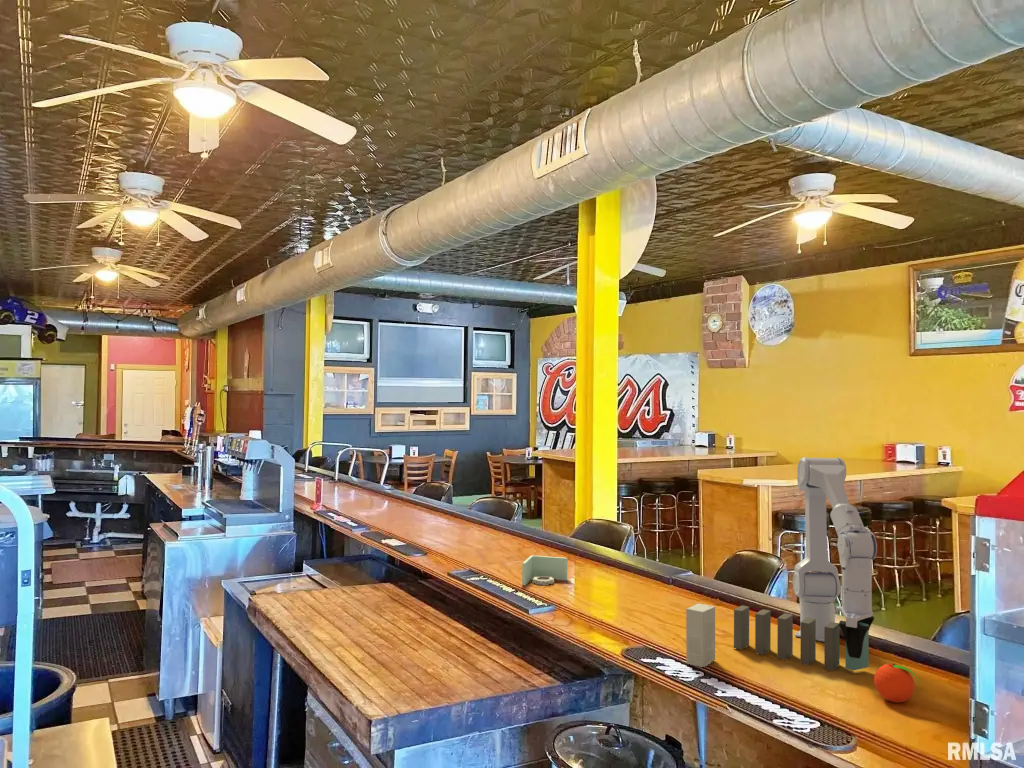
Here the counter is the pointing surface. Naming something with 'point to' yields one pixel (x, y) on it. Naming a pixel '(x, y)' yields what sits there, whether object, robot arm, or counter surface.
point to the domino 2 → (762, 631)
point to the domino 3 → (785, 636)
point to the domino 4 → (808, 641)
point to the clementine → (894, 682)
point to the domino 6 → (864, 659)
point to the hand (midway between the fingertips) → (856, 653)
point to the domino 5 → (831, 646)
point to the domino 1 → (741, 627)
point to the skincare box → (700, 635)
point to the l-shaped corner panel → (544, 569)
